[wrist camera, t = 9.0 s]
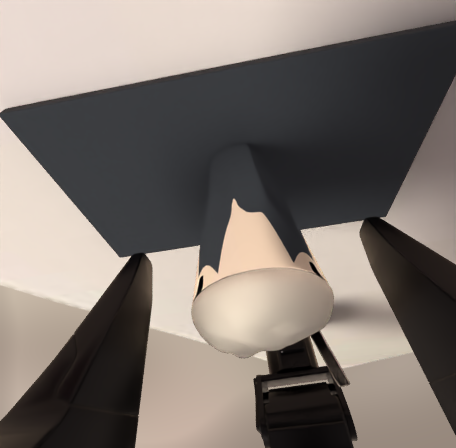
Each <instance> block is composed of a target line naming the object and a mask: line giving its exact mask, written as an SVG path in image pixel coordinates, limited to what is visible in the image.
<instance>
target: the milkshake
mask: <svg viewBox="0 0 456 448" xmlns="http://www.w3.org/2000/svg"><path fill="white" fill-rule="evenodd" d="M333 305H334V295H333V292H332V289H331V287H330V286H329V284H328V282H327V280H326V278H325V276H324V274H323V272H322V270H321V268H320V267H319V265H318V263H317V261H316V259H315V257H314V255H313V253H312V252H311V250H310V248H309V246H308V244H307V242H306V240H305V238H304V237H303V235H302V233H301V231H300V229H299V227H298V225H297V223H296V222H295V220H294V218H293V216H292V214H291V212H290V210H289V208H288V206H287V204H286V202H285V199H284V197H283V195H282V193H281V191H280V189H279V187H278V185H277V183H276V181H275V179H274V177H273V174H272V172H271V170H270V168H269V166H268V164H267V162H266V160H265V158H264V156H263V154H262V153H261V152H259V151H257V150H256V149H254V148H252V147H251V146H249V145H247V144H241V145H228V146H226V147H224V148H223V149H222V150H221V151H219V152H218V153H217V154H215V155H214V156H213V157H212V158H211V162H210V166H209V170H208V174H207V183H206V194H205V205H204V216H203V226H202V237H201V244H200V250H199V257H198V265H197V272H196V279H195V287H194V294H193V302H192V311H191V313H192V320H193V323H194V325H195V327H196V329H197V331H198V332H199V334H200V335H201V336H202V337H203V338H204V340H205V341H206V342H207V343H208V344H209V345H211V346H212V347H214V348H215V349H217V350H219V351H221V352H224V353H230V354H233V355H235V356H237V357H239V358H248V357H251V356H253V355H254V354H256V353H258V352H261V351H276V350H280V349H283V348H284V347H286V346H289V345H292V344H294V343H296V342H298V341H300V340H302V339H304V338H306V337H308V336H311V338H312V340H313V341H314V343H315V345H316V347H317V349H318V350H319V352H320V354H321V356H322V358H323V360H324V361H325V363H326V365H327V367H328V369H329V370H330V372H331V374H332V376H333V378H334V379H335V381H336V383H337V385H338V386H339V387H344V386H348V385H350V382H349V380H348V378H347V377H346V375H345V373H344V371H343V370H342V368H341V366H340V364H339V363H338V361H337V359H336V357H335V356H334V354H333V352H332V350H331V349H330V347H329V345H328V343H327V342H326V340H325V338H324V336H323V335H322V333H321V331H320V330H321V329H323V328H324V327H325V326H326V324H327V323H328V321H329V319H330V316H331V313H332V310H333Z"/></svg>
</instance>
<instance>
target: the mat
mask: <svg viewBox="0 0 456 448" xmlns="http://www.w3.org/2000/svg"><path fill="white" fill-rule="evenodd" d="M455 75H456V20H455V21H450V22H445V23H440V24H435V25H430V26H425V27H420V28H415V29H410V30H404V31H399V32H394V33H389V34H384V35H379V36H374V37H369V38H364V39H359V40H354V41H349V42H343V43H338V44H333V45H328V46H323V47H318V48H313V49H308V50H303V51H298V52H293V53H288V54H282V55H277V56H272V57H267V58H262V59H257V60H252V61H247V62H242V63H237V64H232V65H227V66H222V67H216V68H211V69H206V70H201V71H196V72H191V73H186V74H181V75H176V76H171V77H166V78H161V79H155V80H150V81H145V82H140V83H135V84H130V85H125V86H120V87H115V88H110V89H105V90H100V91H94V92H89V93H84V94H79V95H74V96H69V97H64V98H59V99H54V100H49V101H44V102H39V103H34V104H28V105H23V106H18V107H13V108H8V109H5V110H3V111H2V112H1V113H0V117H1V118H2V120H3V121H4V122H5V123H6V124H7V125H8V127H9V128H10V129H11V130H12V131H13V133H14V134H15V135H16V136H17V137H18V138H19V140H20V141H21V142H22V143H23V144H24V145H25V147H26V148H27V149H28V150H29V151H30V152H31V154H32V155H33V156H34V157H35V158H36V160H37V161H38V162H39V163H40V164H41V165H42V167H43V168H44V169H45V170H46V171H47V172H48V174H49V175H50V176H51V177H52V178H53V179H54V181H55V182H56V183H57V184H58V185H59V186H60V188H61V189H62V190H63V191H64V192H65V194H66V195H67V196H68V197H69V198H70V199H71V201H72V202H73V203H74V204H75V205H76V206H77V208H78V209H79V210H80V211H81V212H82V213H83V215H84V216H85V217H86V218H87V219H88V221H89V222H90V223H91V224H92V225H93V226H94V228H95V229H96V230H97V231H98V232H99V233H100V235H101V236H102V237H103V238H104V239H105V240H106V242H107V243H108V244H109V245H110V246H111V248H112V249H113V250H114V251H115V252H116V253H117V255H118V256H119V257H126V256H132V255H133V254H135V253H141V252H143V253H145V254H146V253H152V252H159V251H166V250H172V249H179V248H185V247H192V246H198V245H200V244H201V237H202V226H203V216H204V205H205V194H206V183H207V174H208V170H209V166H210V162H211V158H212V157H213V156H214V155H215V154H217V153H218V152H219V151H221V150H222V149H223V148H224V147H226V146H228V145H241V144H247V145H249V146H251V147H252V148H254V149H256V150H257V151H259V152H261V153H262V154H263V156H264V158H265V160H266V162H267V164H268V166H269V168H270V170H271V172H272V174H273V177H274V179H275V181H276V183H277V185H278V187H279V189H280V191H281V193H282V195H283V197H284V199H285V202H286V204H287V206H288V208H289V210H290V212H291V214H292V216H293V218H294V220H295V222H296V223H297V225H298V227H299V229H300V230H302V229H309V228H315V227H322V226H328V225H335V224H341V223H348V222H354V221H361V220H364V219H365V218H368V217H374V216H376V217H379V218H380V217H386V216H387V213H388V211H389V209H390V207H391V205H392V203H393V201H394V199H395V197H396V195H397V193H398V191H399V189H400V187H401V185H402V183H403V181H404V179H405V177H406V175H407V173H408V171H409V169H410V167H411V165H412V163H413V161H414V158H415V156H416V154H417V152H418V150H419V148H420V146H421V144H422V142H423V140H424V138H425V136H426V134H427V132H428V130H429V128H430V126H431V124H432V122H433V120H434V118H435V116H436V114H437V112H438V110H439V108H440V106H441V103H442V101H443V99H444V97H445V95H446V93H447V91H448V89H449V87H450V85H451V83H452V81H453V79H454V77H455Z"/></svg>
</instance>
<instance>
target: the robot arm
mask: <svg viewBox="0 0 456 448" xmlns="http://www.w3.org/2000/svg"><path fill="white" fill-rule="evenodd" d="M360 238H361V241H362V243H363V246H364V249H365V252H366V254H367V257H368V260H369V263H370V265H371V268H372V270H373V272H374V275H375V277H376V279H377V281H378V282H379V284H380V286H381V288H382V290H383V292H384V294H385V296H386V298H387V300H388V302H389V304H390V306H391V308H392V310H393V312H394V314H395V316H396V318H397V320H398V322H399V324H400V326H401V328H402V330H403V332H404V334H405V336H406V338H407V340H408V342H409V344H410V346H411V348H412V350H413V352H414V354H415V356H416V358H417V360H418V361H419V363H420V366H421V367H422V369H423V371H424V373H425V375H426V377H427V379H428V381H429V382H430V383H429V384H430V386H431V388H432V389H433V391H434V394H435V396H436V398H437V399H438V402H439V403H440V405H441V407H442V409H443V411H444V413H445V415H446V417H447V419H448V421H449V423H450V425H451V427H452V429H453V431H454V433H455V435H456V265H455V264H454V263H452V262H451V261H449V260H447V259H446V258H444V257H442V256H441V255H439V254H438V253H436V252H434V251H433V250H431V249H429V248H428V247H426V246H425V245H423V244H421V243H420V242H418V241H416V240H415V239H413V238H412V237H410V236H408V235H407V234H405V233H403V232H402V231H400V230H399V229H397V228H395V227H394V226H392V225H391V224H389V223H387V222H386V221H384V220H382V219H381V218H379V217H376V216H374V217H368V218H365V219H364V222H363V224H362V227H361V229H360ZM151 308H152V264H151V262H150V260H149V259H148V257H147V256H146V255H145V253H143V252H141V253H135V254H133V255H132V256H131V257H130V259H129V260H128V262H127V263H126V264H125V266H124V267H123V268H122V270H121V271H120V272H119V274H118V275H117V276H116V278H115V279H114V280H113V282H112V283H111V284H110V286H109V287H108V288H107V290H106V291H105V292H104V294H103V295H102V296H101V298H100V299H99V300H98V302H97V303H96V304H95V306H94V307H93V308H92V310H91V311H90V313H89V314H88V315H87V316H86V318H85V319H84V321H83V322H82V323H81V325H80V326H79V327H78V328H77V330H76V331H75V333H74V335H72V337H71V338H70V339H69V340H68V342H67V343H66V344H65V346H64V347H63V348H62V350H61V351H60V352H59V353H58V355H57V356H56V357H55V359H54V360H53V361H52V362H51V363H50V365H49V366H48V367H47V368H46V369H45V371H44V372H43V373H42V374H41V375H40V377H39V378H38V379H37V380H36V381H35V382H34V384H33V385H32V386H31V387H30V388H29V389H28V390H27V392H26V393H25V394H24V395H23V396H22V397H21V399H20V400H19V401H18V402H17V403H16V404H15V406H14V407H13V408H12V409H11V410H10V411H9V412H8V414H7V415H6V416H5V417H4V418H3V419H2V420H1V421H0V448H135V442H136V434H137V426H138V415H139V408H140V400H141V391H142V383H143V375H144V365H145V358H146V350H147V341H148V333H149V325H150V316H151ZM266 355H267V361H268V367H269V373H270V374H268V375H257V376H256V378H254V387H255V397H256V428H257V431H258V432H259V433H260V434H261V436H262V439H263V441H264V445H265V448H354V447H353V444H352V441H357V435H356V430H355V426H354V423H353V420H352V417H351V414H350V411H349V408H348V405H347V402H346V400H345V397H344V395H343V392H342V389H341V387H339V386H338V385H337V383H336V381H335V379H334V378H333V376H332V374H331V372H330V370H329V369H328V367H327V366H323V367H319V366H318V363H317V359H316V356H315V352H314V349H313V346H312V342H311V339H310V336H308V337H306V338H304V339H302V340H300V341H298V342H296V343H294V344H292V345H289V346H286V347H284V348H283V349H280V350H276V351H266ZM327 379H328V382H329V384H327V383H326V382H322V383H314V384H307V385H299V386H292V387H285V388H278V389H271V390H269V391H268V387H276V386H283V385H290V384H298V383H305V382H312V381H319V380H327Z"/></svg>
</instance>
